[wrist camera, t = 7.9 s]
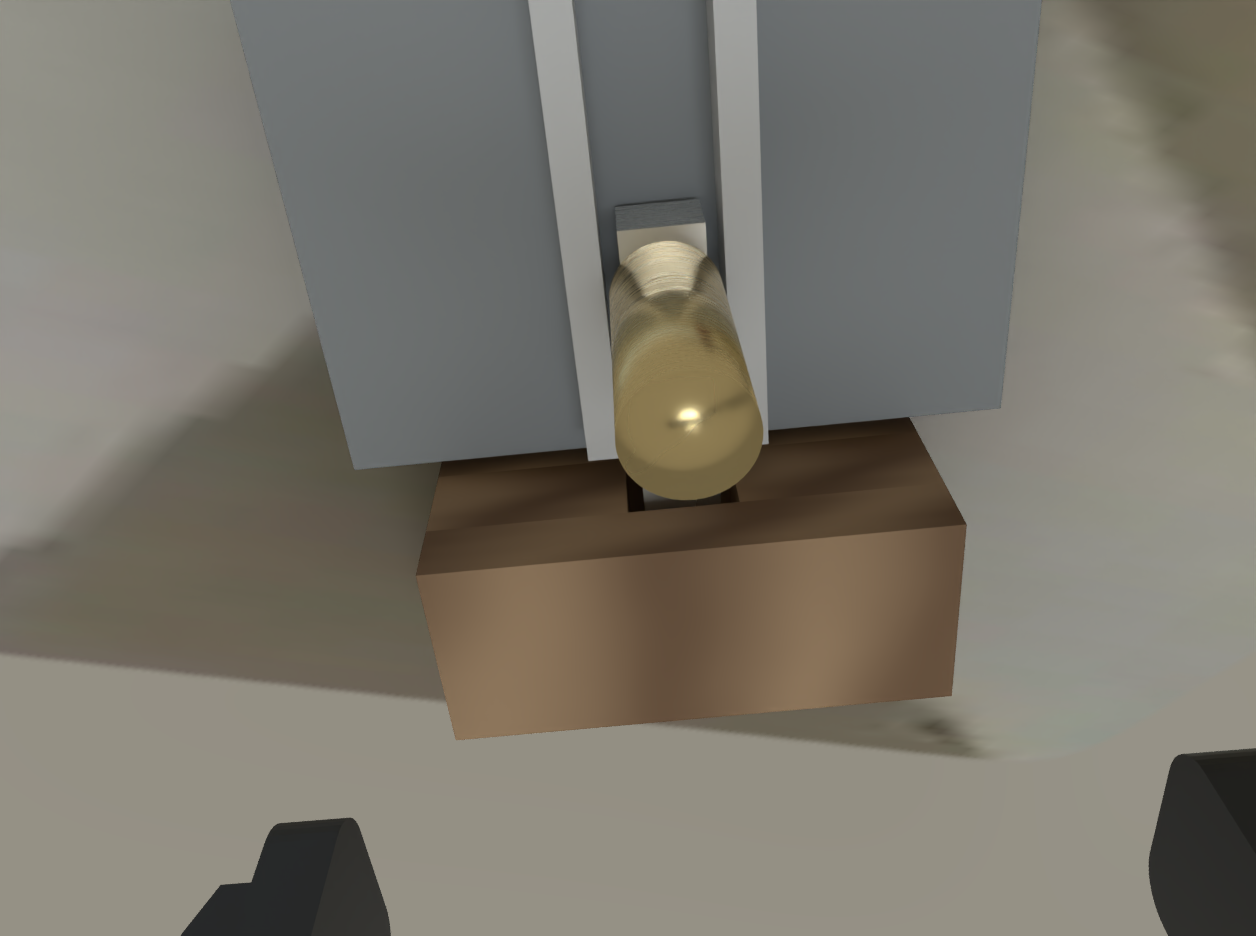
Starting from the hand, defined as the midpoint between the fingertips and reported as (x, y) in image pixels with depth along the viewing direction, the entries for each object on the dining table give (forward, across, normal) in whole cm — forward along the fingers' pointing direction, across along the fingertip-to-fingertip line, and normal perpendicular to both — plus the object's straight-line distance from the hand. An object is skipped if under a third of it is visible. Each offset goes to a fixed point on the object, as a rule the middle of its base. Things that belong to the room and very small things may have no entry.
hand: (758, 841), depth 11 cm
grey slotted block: (+18, 0, -3) cm, 18 cm away
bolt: (+15, 0, +3) cm, 16 cm away
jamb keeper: (+18, 0, +7) cm, 19 cm away
